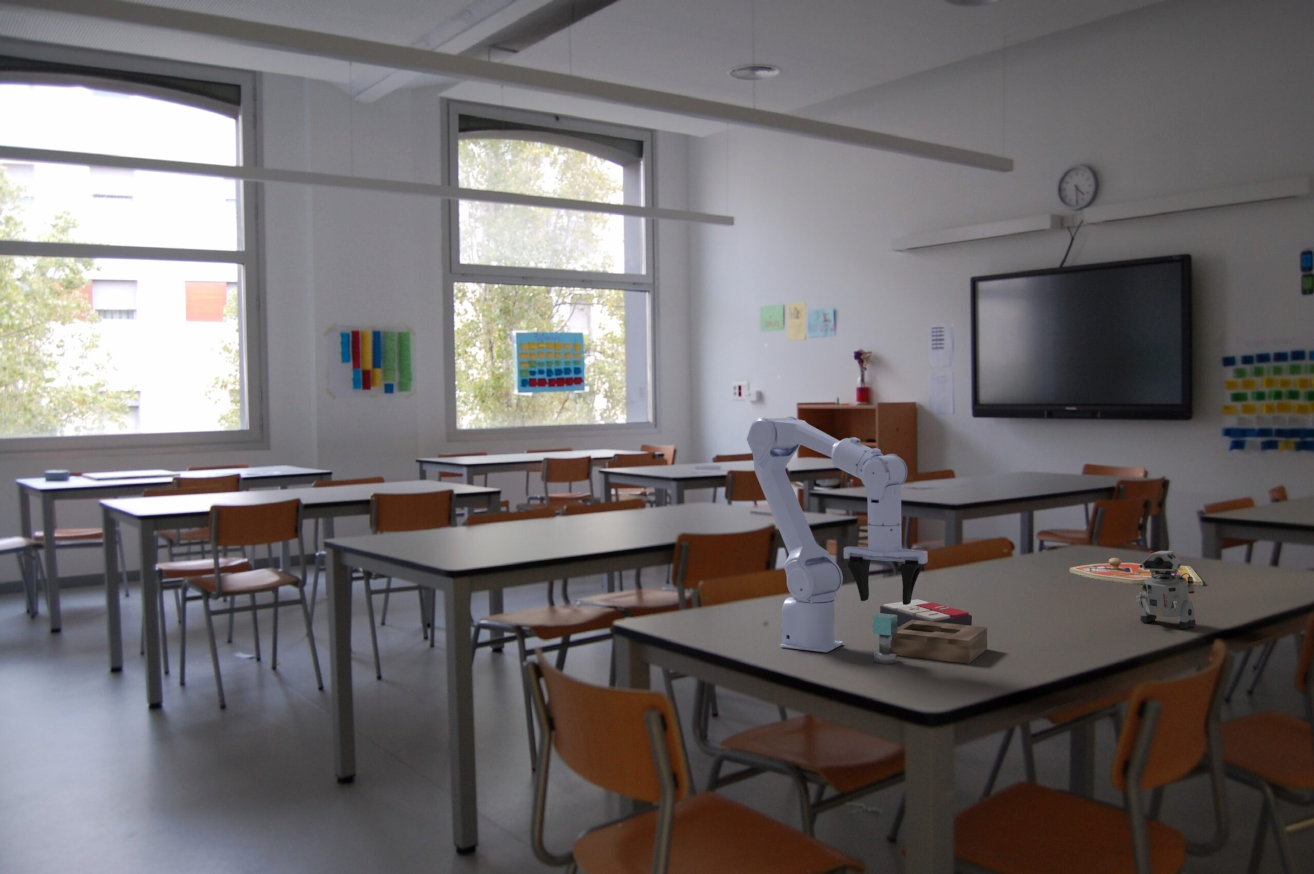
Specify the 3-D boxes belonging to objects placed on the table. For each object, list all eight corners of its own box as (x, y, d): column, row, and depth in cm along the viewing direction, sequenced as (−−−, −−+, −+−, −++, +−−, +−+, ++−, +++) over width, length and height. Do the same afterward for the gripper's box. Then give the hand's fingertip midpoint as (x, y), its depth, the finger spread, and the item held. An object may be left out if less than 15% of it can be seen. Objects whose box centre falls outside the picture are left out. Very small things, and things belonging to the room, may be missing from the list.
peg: (870, 662, 177) (870, 616, 177) (878, 657, 181) (878, 612, 181) (892, 665, 175) (892, 618, 175) (900, 660, 179) (900, 614, 178)
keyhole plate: (890, 654, 183) (889, 632, 183) (912, 640, 193) (911, 619, 193) (968, 663, 175) (968, 640, 175) (987, 649, 185) (987, 627, 185)
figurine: (1125, 626, 201) (1125, 551, 201) (1154, 618, 208) (1154, 545, 208) (1172, 634, 194) (1172, 556, 194) (1200, 625, 201) (1200, 550, 201)
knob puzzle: (1204, 589, 242) (1204, 570, 242) (1070, 583, 253) (1070, 565, 253) (1189, 570, 269) (1188, 553, 269) (1068, 565, 280) (1068, 549, 280)
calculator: (933, 618, 197) (879, 602, 210) (932, 640, 197) (878, 622, 210) (973, 611, 203) (917, 596, 216) (972, 632, 203) (917, 616, 216)
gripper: (836, 524, 178) (837, 602, 178) (917, 528, 170) (918, 609, 170) (851, 520, 184) (852, 595, 184) (931, 524, 176) (931, 602, 176)
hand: (885, 601), depth 178 cm, fingers open, 7 cm apart
